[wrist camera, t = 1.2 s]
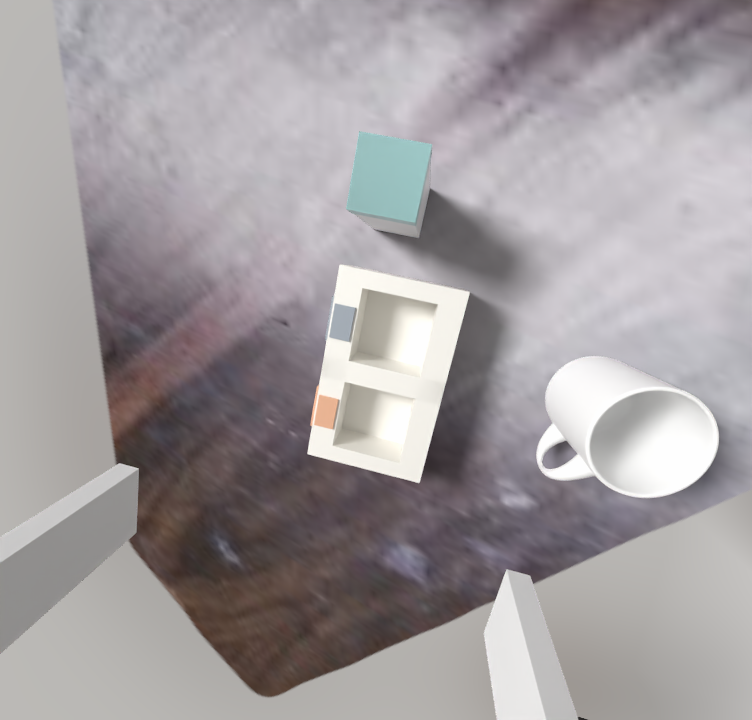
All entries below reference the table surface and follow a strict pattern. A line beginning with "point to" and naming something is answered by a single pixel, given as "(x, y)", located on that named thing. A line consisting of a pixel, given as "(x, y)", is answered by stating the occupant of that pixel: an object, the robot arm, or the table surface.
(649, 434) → the mug
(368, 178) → the plug
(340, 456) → the socket box
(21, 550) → the robot arm
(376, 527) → the table surface
